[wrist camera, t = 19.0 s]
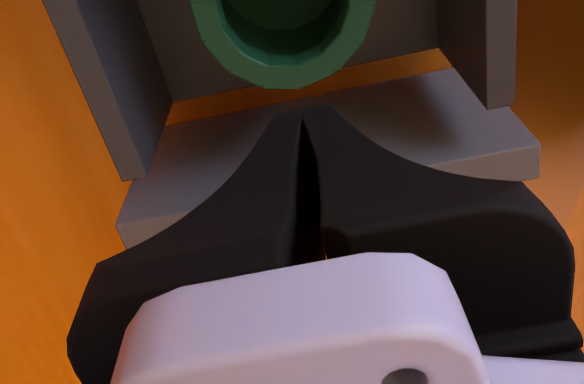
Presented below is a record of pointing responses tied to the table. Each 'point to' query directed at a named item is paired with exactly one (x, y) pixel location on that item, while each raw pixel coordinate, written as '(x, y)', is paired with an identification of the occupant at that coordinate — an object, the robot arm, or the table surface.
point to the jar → (282, 37)
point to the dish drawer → (252, 122)
